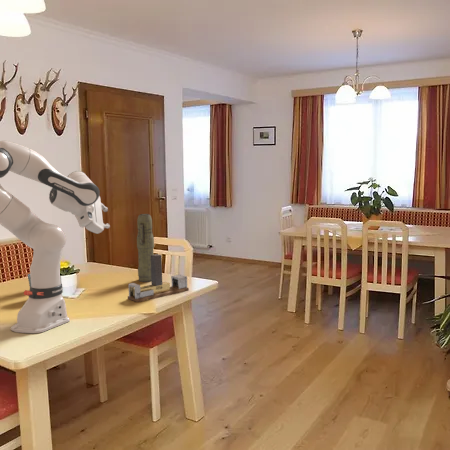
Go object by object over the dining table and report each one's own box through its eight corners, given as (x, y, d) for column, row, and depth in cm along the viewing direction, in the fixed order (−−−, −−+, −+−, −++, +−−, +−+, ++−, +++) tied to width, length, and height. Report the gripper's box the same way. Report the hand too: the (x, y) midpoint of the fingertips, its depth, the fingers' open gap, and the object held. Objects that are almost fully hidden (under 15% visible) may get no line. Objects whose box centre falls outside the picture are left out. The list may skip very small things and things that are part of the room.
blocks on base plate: (137, 297, 217) (135, 259, 214) (133, 296, 219) (131, 258, 217) (169, 290, 229) (168, 253, 226) (165, 289, 231) (164, 252, 229)
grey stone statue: (157, 277, 261) (155, 213, 257) (152, 282, 249) (150, 215, 245) (141, 277, 262) (138, 213, 257) (135, 282, 250) (133, 215, 246)
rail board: (137, 302, 214) (137, 299, 214) (127, 298, 220) (127, 296, 220) (188, 290, 234) (188, 287, 233) (178, 287, 239) (178, 284, 239)
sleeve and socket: (136, 301, 215) (135, 286, 214) (129, 299, 220) (128, 283, 219) (187, 289, 234) (187, 275, 233) (180, 287, 239) (179, 273, 238)
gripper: (77, 193, 218) (101, 204, 228) (80, 229, 207) (105, 239, 217) (86, 185, 216) (110, 197, 226) (89, 222, 205) (114, 232, 215)
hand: (107, 218), depth 221 cm, fingers open, 8 cm apart
